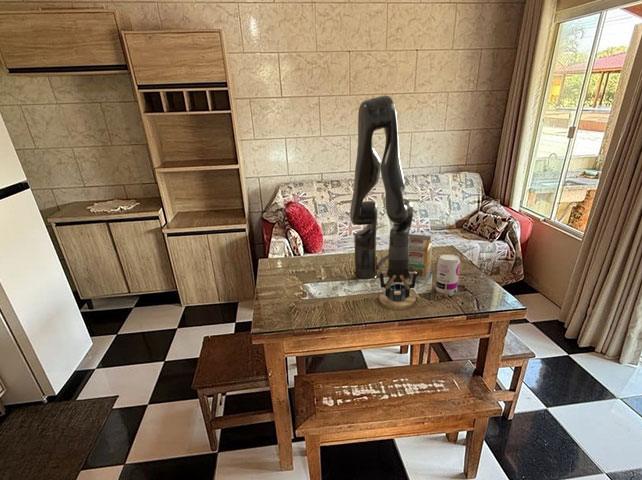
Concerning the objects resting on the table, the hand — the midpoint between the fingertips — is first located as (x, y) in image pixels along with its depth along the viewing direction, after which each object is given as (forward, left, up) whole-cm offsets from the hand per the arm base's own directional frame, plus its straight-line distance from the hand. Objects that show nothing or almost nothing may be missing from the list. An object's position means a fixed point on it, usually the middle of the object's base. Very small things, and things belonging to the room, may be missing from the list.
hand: (397, 297), depth 157 cm
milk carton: (-26, -6, -2) cm, 27 cm away
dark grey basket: (0, 0, 0) cm, 0 cm away
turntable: (0, 0, -2) cm, 2 cm away
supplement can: (-18, +12, -2) cm, 22 cm away
